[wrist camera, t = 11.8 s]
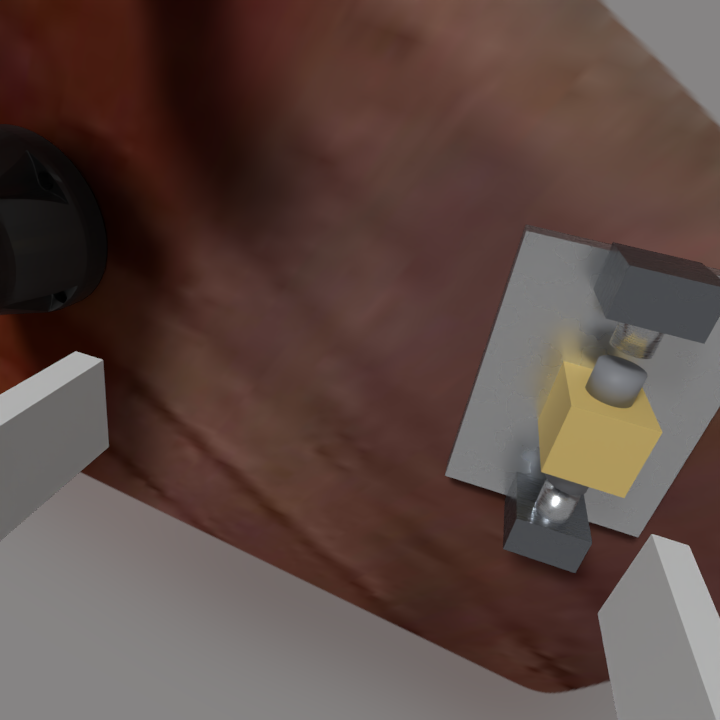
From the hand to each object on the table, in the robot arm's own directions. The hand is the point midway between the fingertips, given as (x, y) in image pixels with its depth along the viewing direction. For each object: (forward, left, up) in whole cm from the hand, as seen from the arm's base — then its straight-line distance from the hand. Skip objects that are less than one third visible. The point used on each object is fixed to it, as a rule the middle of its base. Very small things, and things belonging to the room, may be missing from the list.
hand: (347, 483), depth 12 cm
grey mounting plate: (+11, -8, -26) cm, 30 cm away
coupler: (+11, -8, -24) cm, 28 cm away
